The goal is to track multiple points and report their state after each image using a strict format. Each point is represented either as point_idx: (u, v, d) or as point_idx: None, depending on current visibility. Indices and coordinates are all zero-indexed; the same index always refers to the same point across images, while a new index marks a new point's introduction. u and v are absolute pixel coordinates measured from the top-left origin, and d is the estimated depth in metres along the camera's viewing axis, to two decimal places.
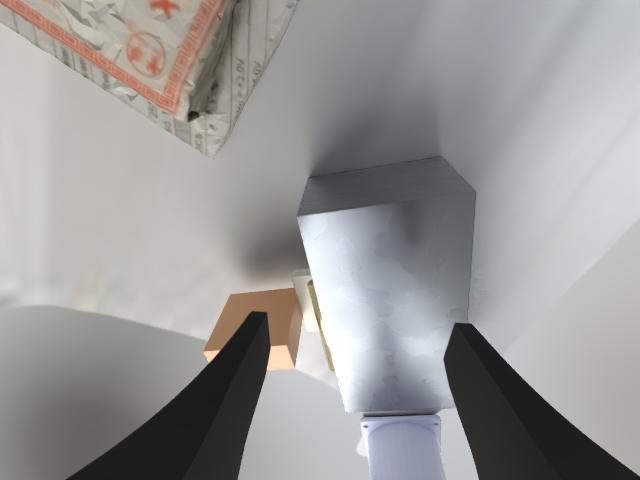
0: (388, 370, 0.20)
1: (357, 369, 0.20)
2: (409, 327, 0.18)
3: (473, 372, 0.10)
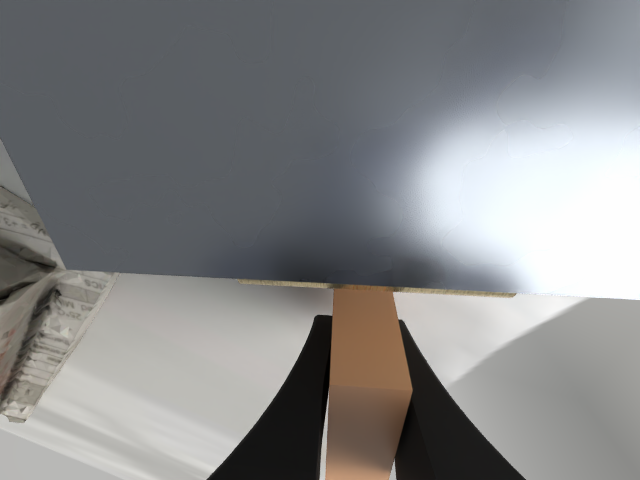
0: (587, 152, 0.06)
1: (533, 241, 0.07)
2: (397, 58, 0.05)
3: None
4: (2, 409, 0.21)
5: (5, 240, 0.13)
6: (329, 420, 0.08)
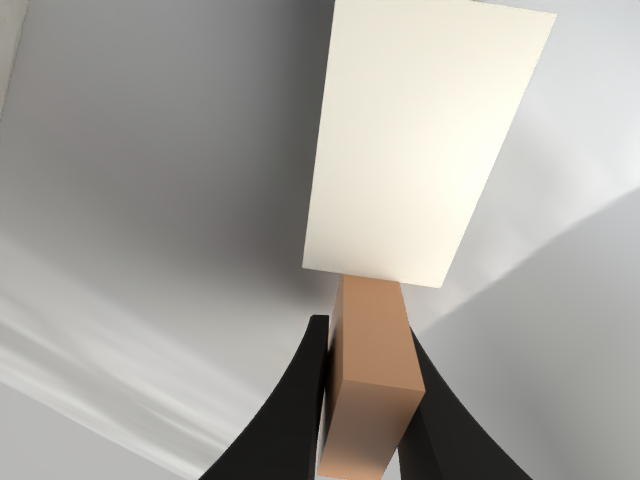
0: None
1: None
2: None
3: None
4: None
5: None
6: (334, 415, 0.08)
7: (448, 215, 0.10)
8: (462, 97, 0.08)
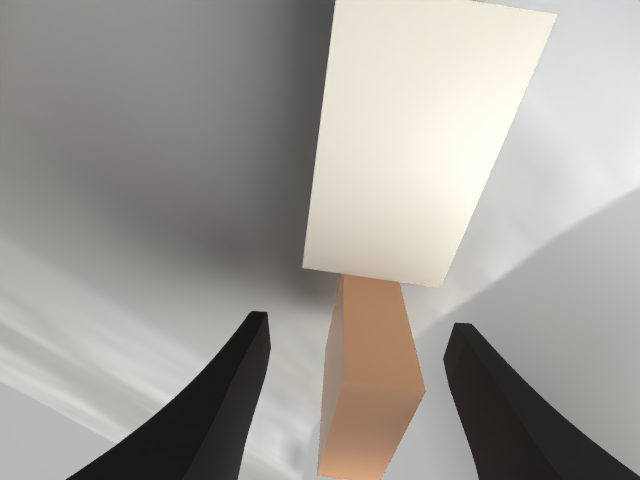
0: None
1: None
2: None
3: (473, 372, 0.10)
4: None
5: None
6: (335, 415, 0.08)
7: (448, 215, 0.10)
8: (462, 97, 0.08)
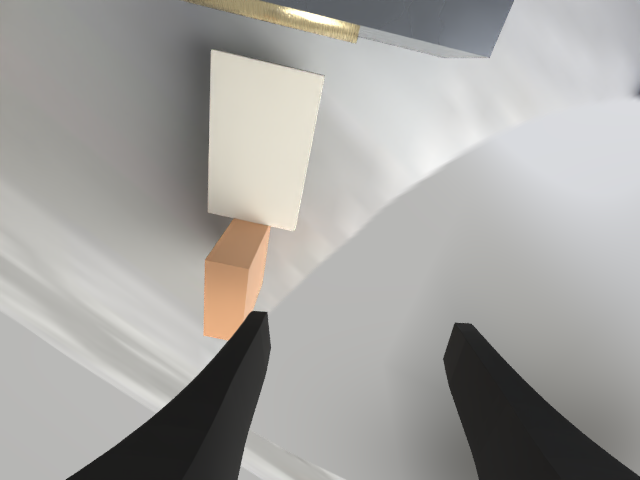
0: None
1: None
2: None
3: (473, 372, 0.10)
4: None
5: None
6: (205, 286, 0.15)
7: (290, 183, 0.16)
8: (284, 114, 0.14)
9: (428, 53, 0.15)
